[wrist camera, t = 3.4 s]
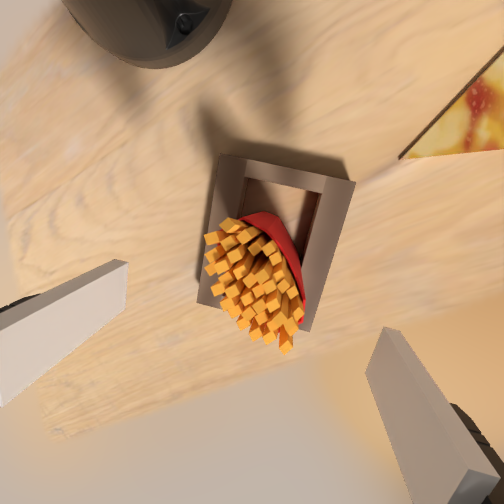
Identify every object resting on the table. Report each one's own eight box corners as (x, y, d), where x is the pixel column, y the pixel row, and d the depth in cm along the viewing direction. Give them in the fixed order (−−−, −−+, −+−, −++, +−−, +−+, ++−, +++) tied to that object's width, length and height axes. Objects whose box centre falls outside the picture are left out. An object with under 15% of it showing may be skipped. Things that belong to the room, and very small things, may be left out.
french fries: (309, 270, 28) (322, 346, 16) (273, 287, 29) (259, 370, 17) (266, 192, 27) (244, 208, 14) (230, 213, 28) (180, 245, 15)
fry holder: (203, 292, 31) (196, 302, 28) (226, 155, 26) (219, 153, 24) (308, 319, 30) (309, 332, 27) (350, 181, 25) (356, 182, 23)
